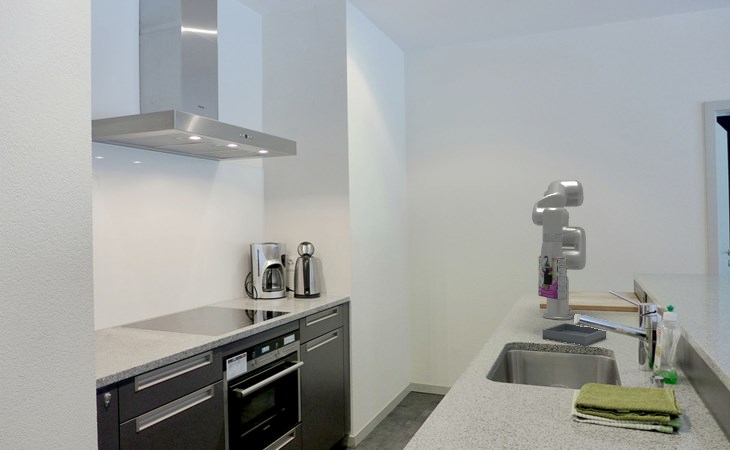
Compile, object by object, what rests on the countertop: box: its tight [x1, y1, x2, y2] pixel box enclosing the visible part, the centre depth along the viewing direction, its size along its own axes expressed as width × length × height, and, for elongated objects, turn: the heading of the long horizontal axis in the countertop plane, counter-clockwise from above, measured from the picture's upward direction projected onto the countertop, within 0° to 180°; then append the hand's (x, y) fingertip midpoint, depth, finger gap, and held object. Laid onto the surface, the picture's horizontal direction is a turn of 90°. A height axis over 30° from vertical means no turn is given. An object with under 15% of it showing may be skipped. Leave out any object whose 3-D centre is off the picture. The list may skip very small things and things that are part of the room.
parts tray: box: [542, 322, 607, 347], centre depth 208 cm, size 18×16×4 cm
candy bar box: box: [537, 255, 568, 300], centre depth 219 cm, size 11×5×16 cm, turn 23°
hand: (552, 283), depth 219 cm, fingers closed on candy bar box, 6 cm apart
